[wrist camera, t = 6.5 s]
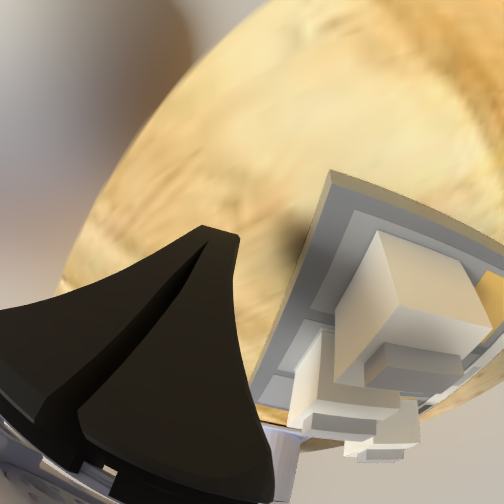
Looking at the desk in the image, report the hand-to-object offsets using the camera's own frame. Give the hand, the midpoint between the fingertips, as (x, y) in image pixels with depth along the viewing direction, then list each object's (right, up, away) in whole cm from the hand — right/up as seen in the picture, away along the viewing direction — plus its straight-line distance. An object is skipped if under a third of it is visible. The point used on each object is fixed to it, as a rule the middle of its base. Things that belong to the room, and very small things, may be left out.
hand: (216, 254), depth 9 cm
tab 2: (+6, -6, +4) cm, 9 cm away
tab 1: (+7, -1, 0) cm, 7 cm away
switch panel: (+10, -6, +5) cm, 12 cm away
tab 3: (+11, -11, +7) cm, 17 cm away
